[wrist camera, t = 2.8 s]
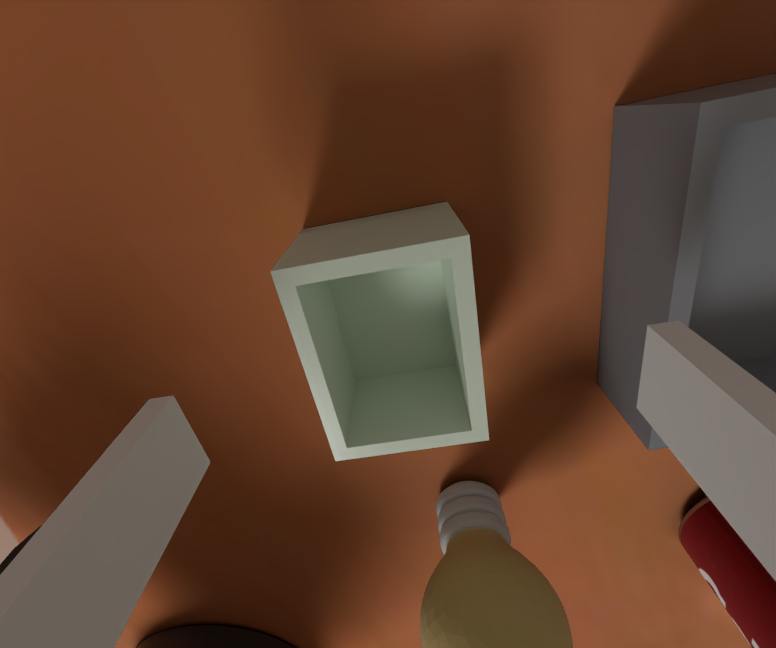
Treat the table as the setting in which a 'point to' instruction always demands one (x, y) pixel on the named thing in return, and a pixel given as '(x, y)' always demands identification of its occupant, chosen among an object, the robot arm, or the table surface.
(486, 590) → the light bulb
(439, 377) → the small crate
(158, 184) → the table surface
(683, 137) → the big crate
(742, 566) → the soda can
